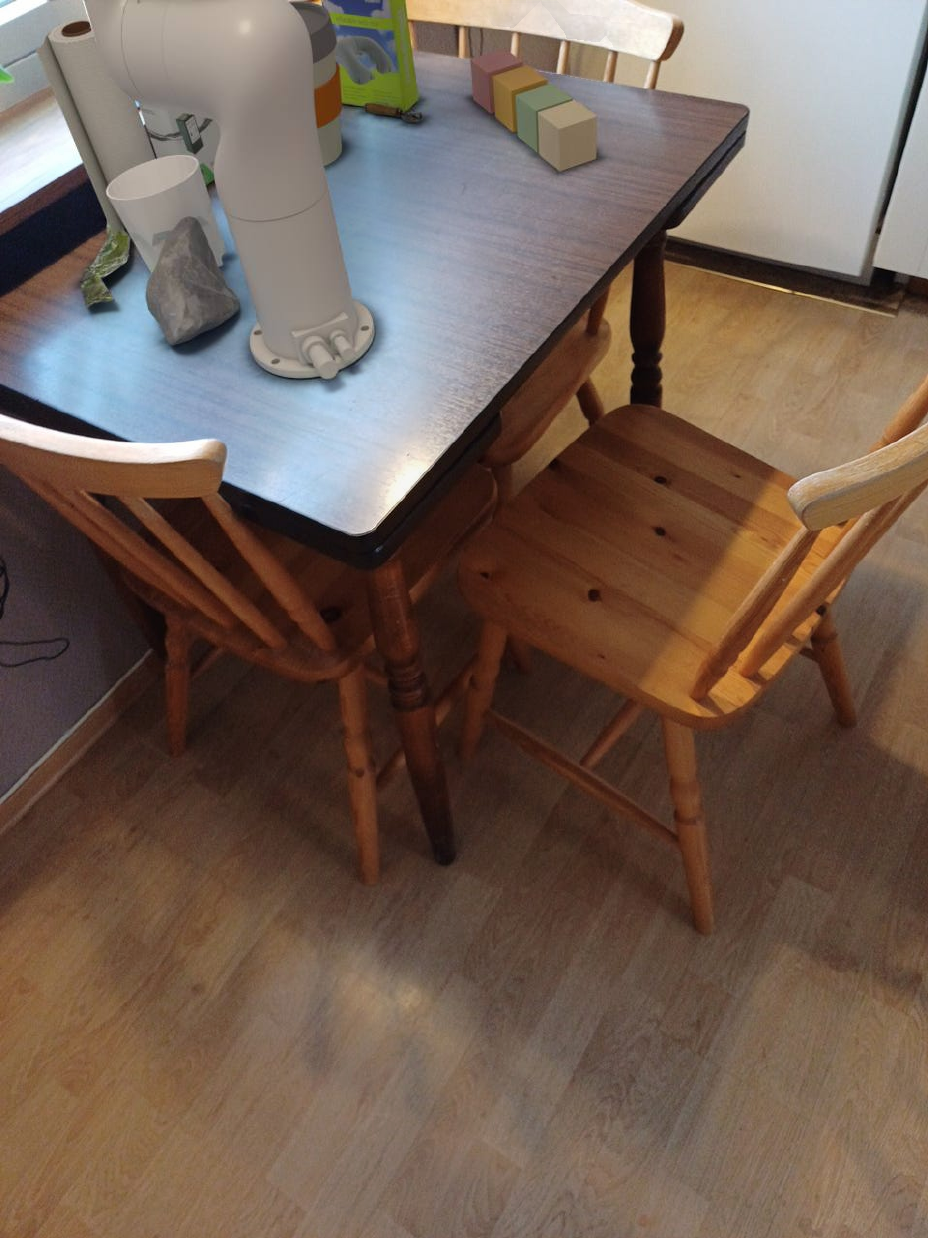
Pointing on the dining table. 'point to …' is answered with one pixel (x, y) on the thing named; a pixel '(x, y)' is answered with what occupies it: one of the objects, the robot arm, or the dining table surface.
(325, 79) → the reusable coffee cup
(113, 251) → the green crumpled strip
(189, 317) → the stone
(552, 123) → the block
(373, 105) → the can opener
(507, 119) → the ochre block
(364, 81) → the box
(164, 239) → the cup
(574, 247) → the dining table surface
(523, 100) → the block
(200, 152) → the ink box
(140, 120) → the paper towel roll
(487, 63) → the block
